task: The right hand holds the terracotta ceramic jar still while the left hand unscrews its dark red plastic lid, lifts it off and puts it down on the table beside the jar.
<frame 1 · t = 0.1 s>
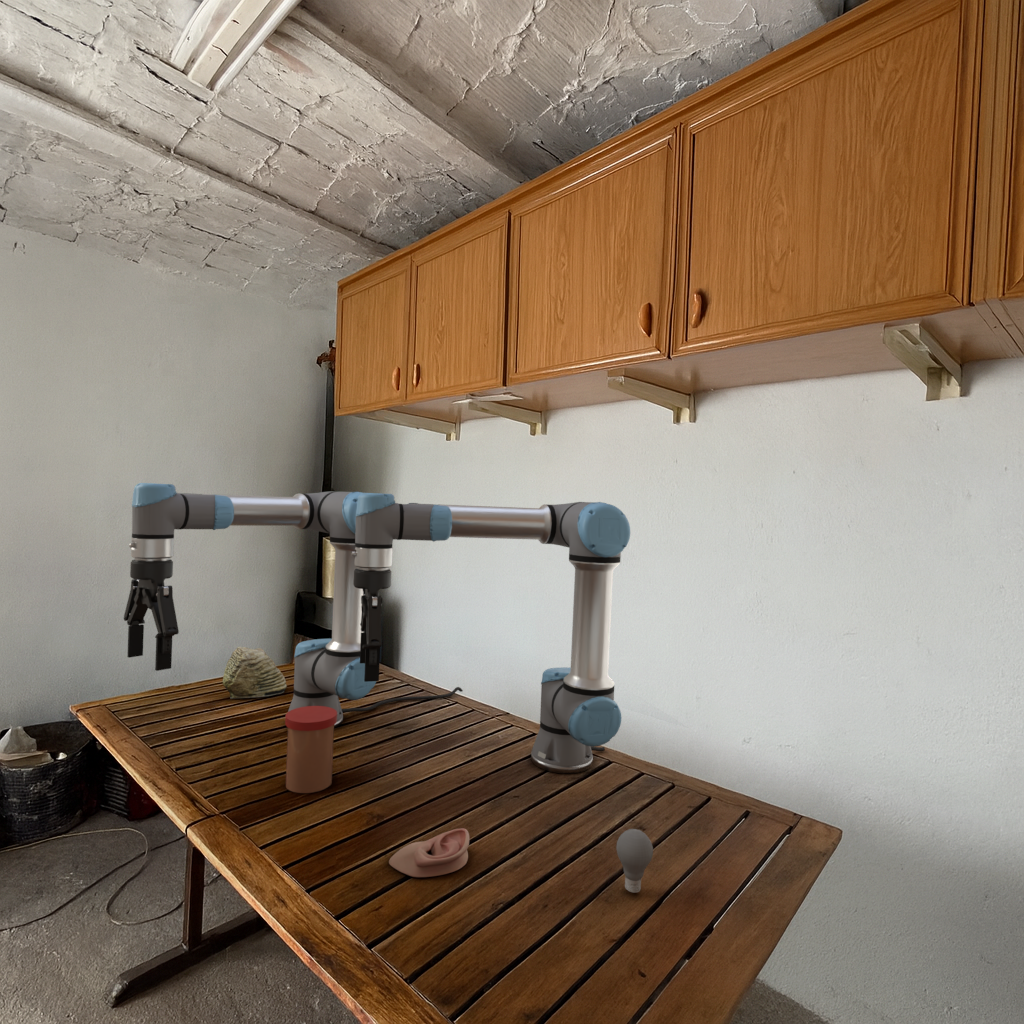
left hand: (148, 662, 129), 28 cm above the table, tool pointing down, fingers open, 13 cm apart
right hand: (368, 671, 130), 28 cm above the table, tool pointing down, fingers open, 13 cm apart
lid: (311, 715, 140), point 15 cm above the table, screwed on, not yet turned
jar: (309, 783, 140), on the table
fossil: (254, 694, 198), on the table
anatomical model: (429, 860, 112), on the table
light bulb: (632, 891, 106), on the table
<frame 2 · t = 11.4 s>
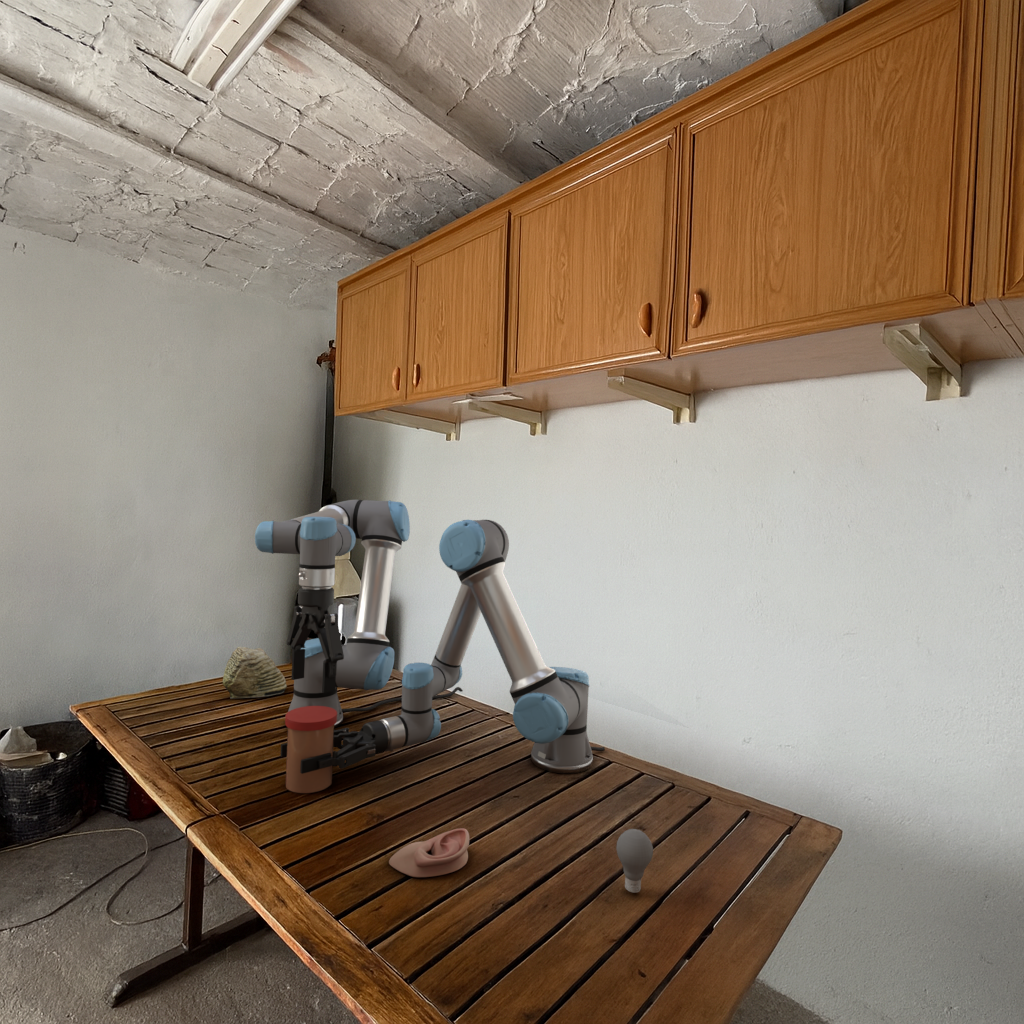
left hand: (312, 684, 139), 22 cm above the table, tool pointing down, fingers open, 12 cm apart
right hand: (291, 758, 137), 6 cm above the table, tool horizontal, fingers closed on jar, 10 cm apart
jar: (309, 783, 140), on the table, touching right hand
everything else where it was.
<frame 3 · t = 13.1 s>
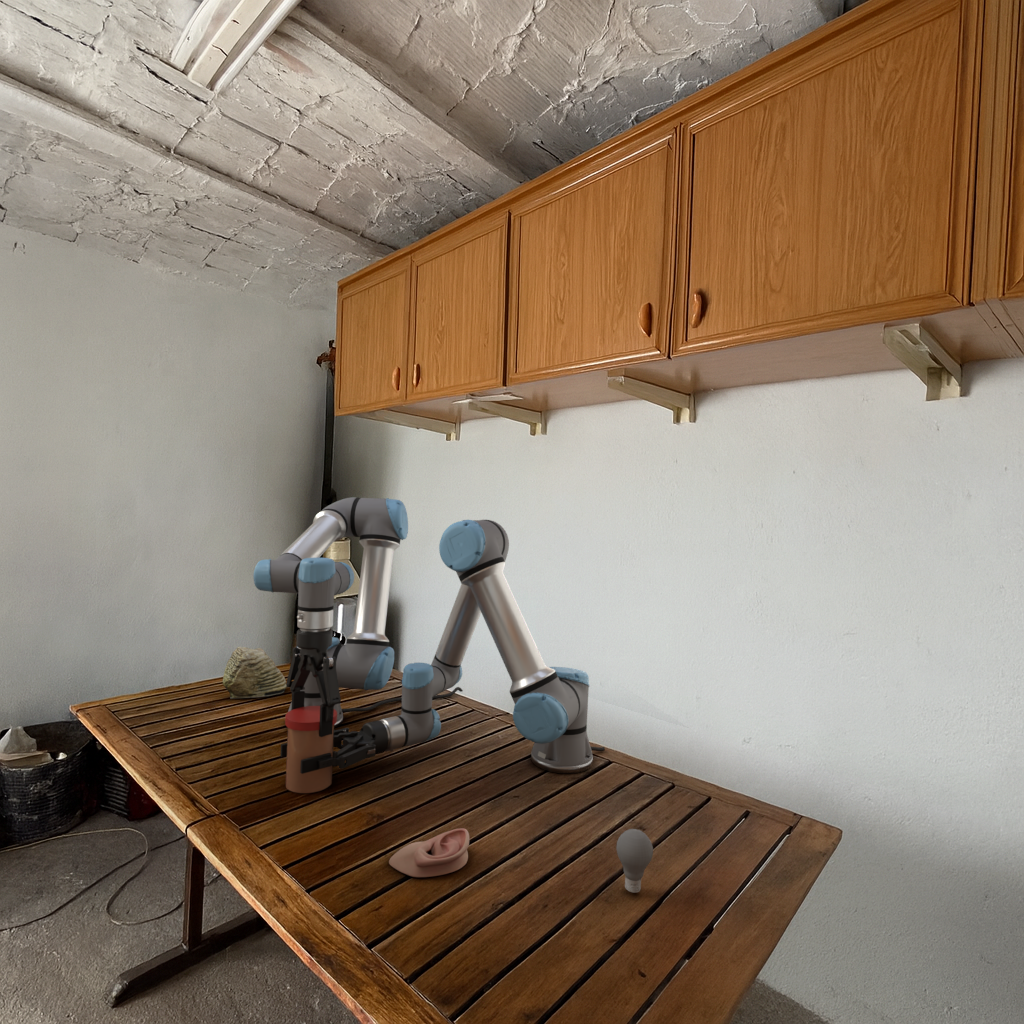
left hand: (311, 727, 140), 12 cm above the table, tool pointing down, fingers closed on lid, 11 cm apart
right hand: (291, 758, 137), 6 cm above the table, tool horizontal, fingers closed on jar, 10 cm apart
lid: (311, 715, 140), point 15 cm above the table, screwed on, not yet turned, touching left hand
jar: (309, 783, 140), on the table, touching right hand
everything else where it was.
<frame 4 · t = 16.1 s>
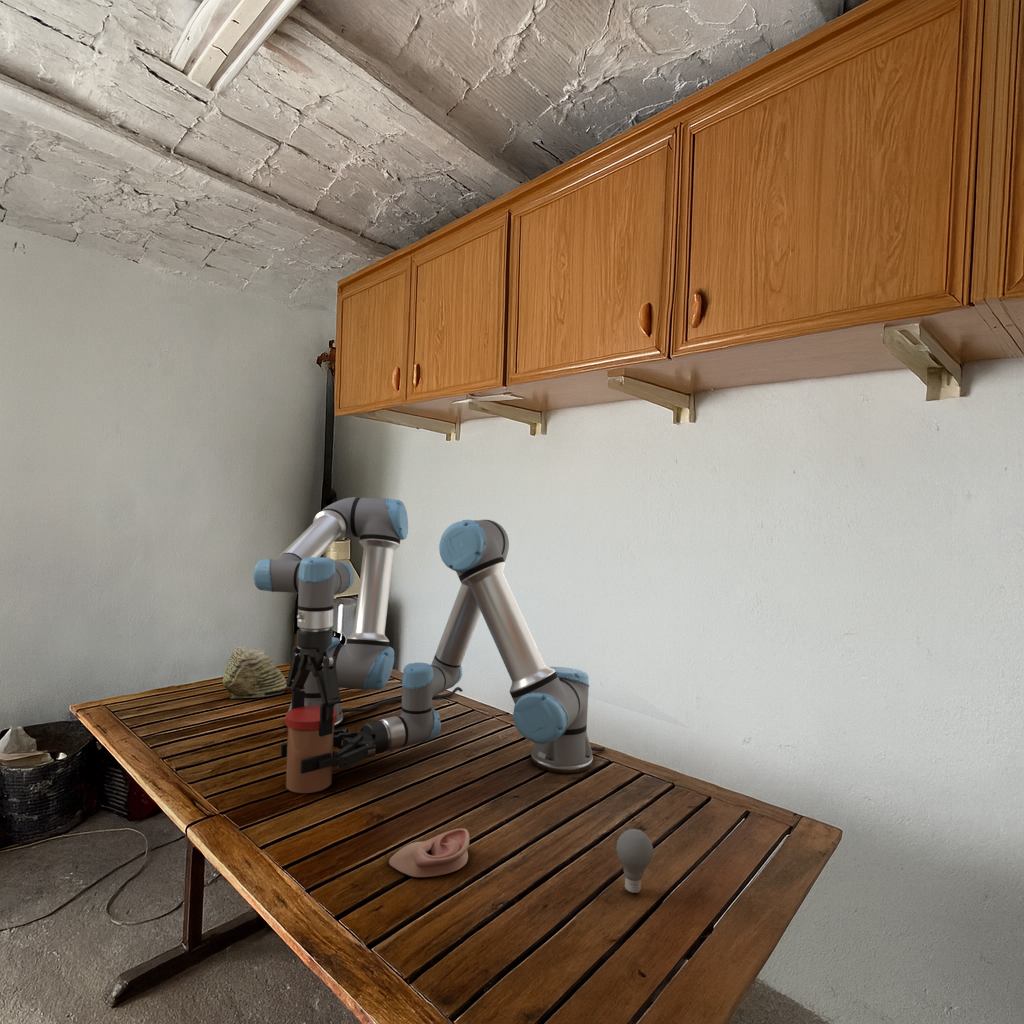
left hand: (311, 727, 140), 12 cm above the table, tool pointing down, fingers closed on lid, 11 cm apart
right hand: (291, 758, 137), 6 cm above the table, tool horizontal, fingers closed on jar, 10 cm apart
lid: (311, 714, 140), point 15 cm above the table, turned 80° so far, risen 0.1 cm, still on its thread, touching left hand
jar: (309, 783, 140), on the table, touching right hand
everything else where it was.
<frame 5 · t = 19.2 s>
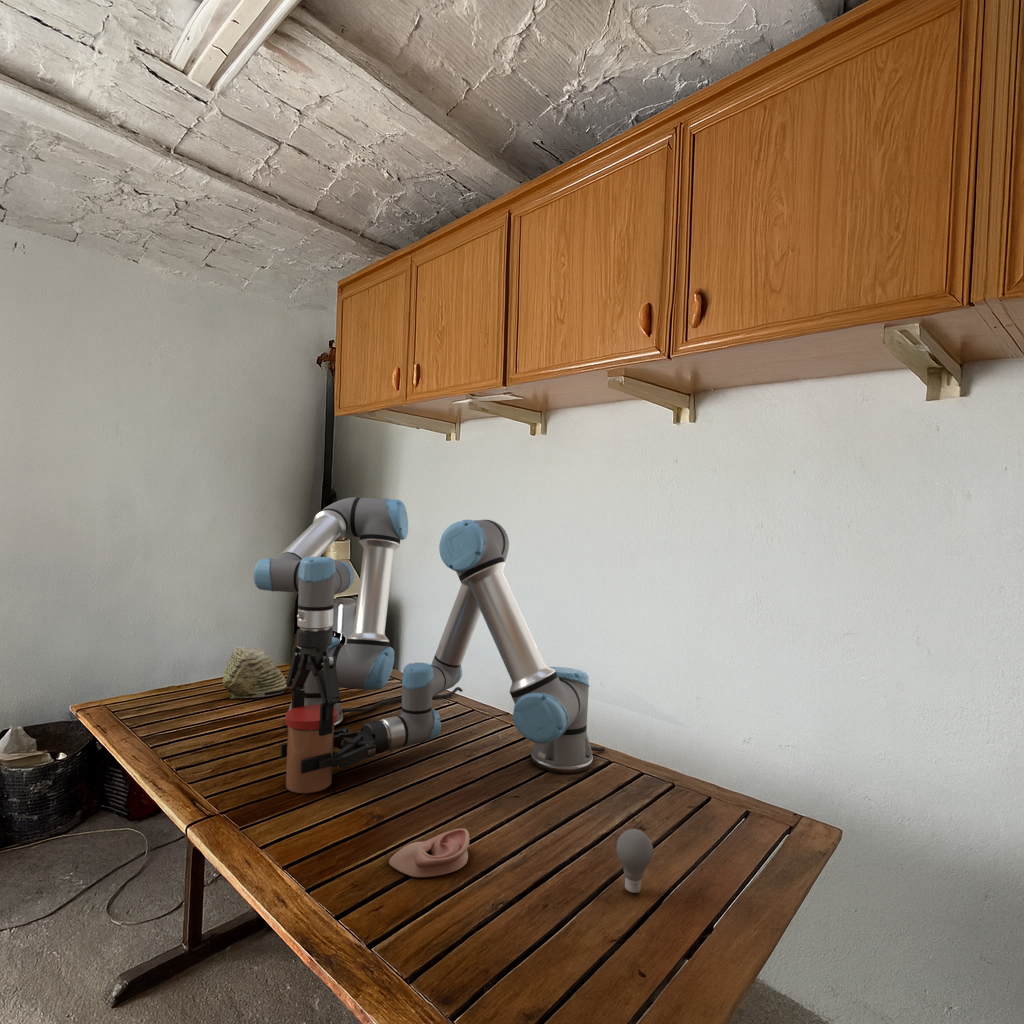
left hand: (311, 726, 140), 12 cm above the table, tool pointing down, fingers closed on lid, 11 cm apart
right hand: (291, 758, 137), 6 cm above the table, tool horizontal, fingers closed on jar, 10 cm apart
lid: (311, 714, 140), point 15 cm above the table, turned 159° so far, risen 0.2 cm, still on its thread, touching left hand
jar: (309, 783, 140), on the table, touching right hand
everything else where it was.
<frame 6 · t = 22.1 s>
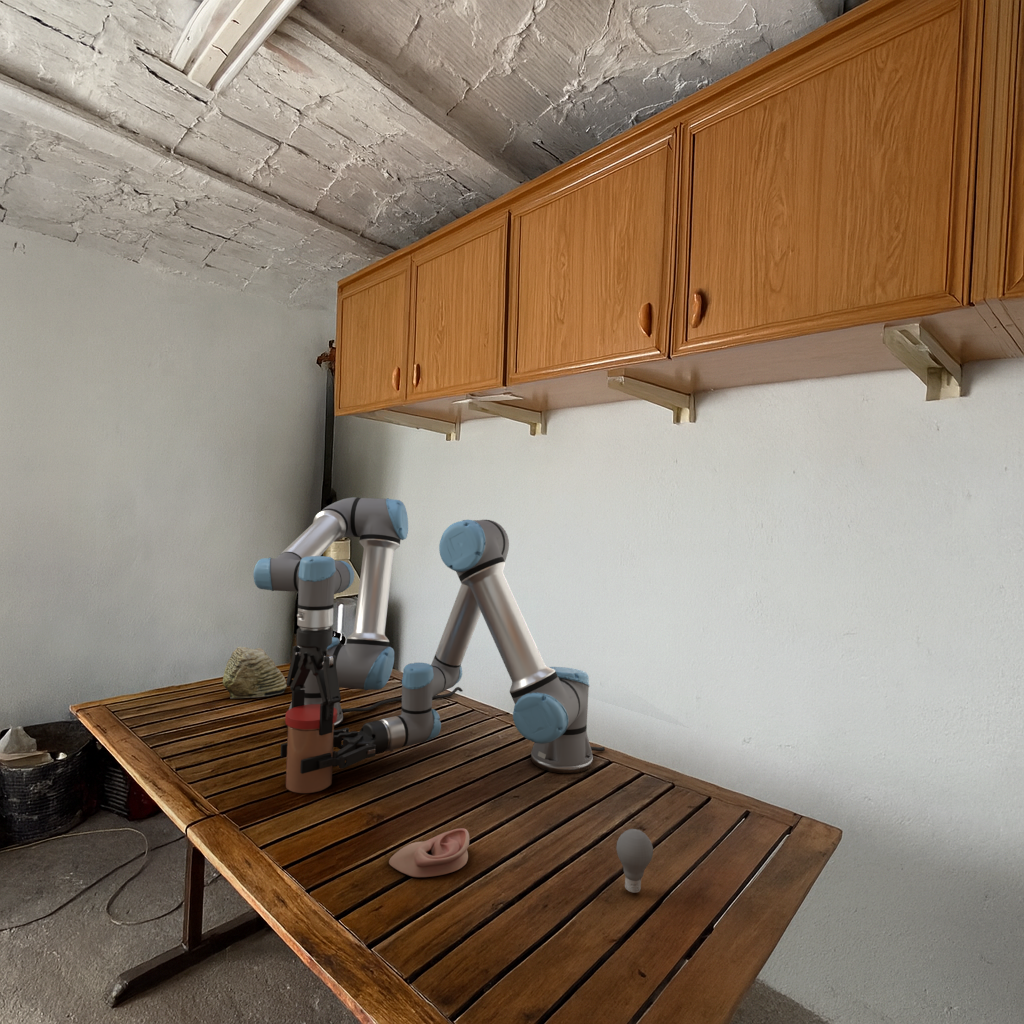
left hand: (311, 726, 140), 13 cm above the table, tool pointing down, fingers closed on lid, 11 cm apart
right hand: (291, 758, 137), 6 cm above the table, tool horizontal, fingers closed on jar, 10 cm apart
lid: (311, 713, 140), point 15 cm above the table, turned 239° so far, risen 0.4 cm, still on its thread, touching left hand
jar: (309, 783, 140), on the table, touching right hand
everything else where it was.
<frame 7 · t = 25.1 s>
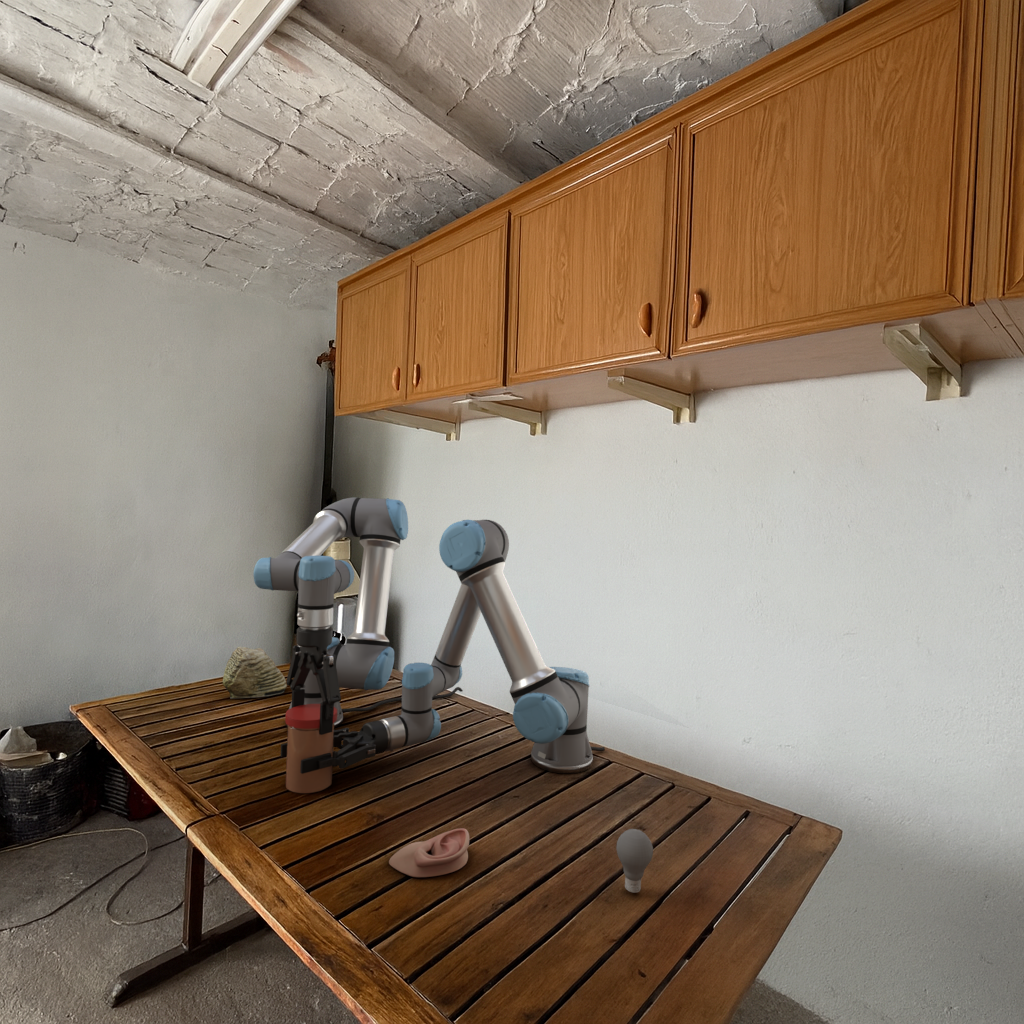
left hand: (311, 725, 140), 13 cm above the table, tool pointing down, fingers closed on lid, 11 cm apart
right hand: (291, 758, 137), 6 cm above the table, tool horizontal, fingers closed on jar, 10 cm apart
lid: (311, 713, 140), point 16 cm above the table, turned 318° so far, risen 0.5 cm, still on its thread, touching left hand
jar: (309, 783, 140), on the table, touching right hand
everything else where it was.
when the left hand's fingers open (0 cm above the table, at t = 32.6 s): lid drops 2 cm, point 1 cm above the table.
when the right hand's fingers open (7 cm above the table, at t = 33.7 s): jar stays where it is, on the table.
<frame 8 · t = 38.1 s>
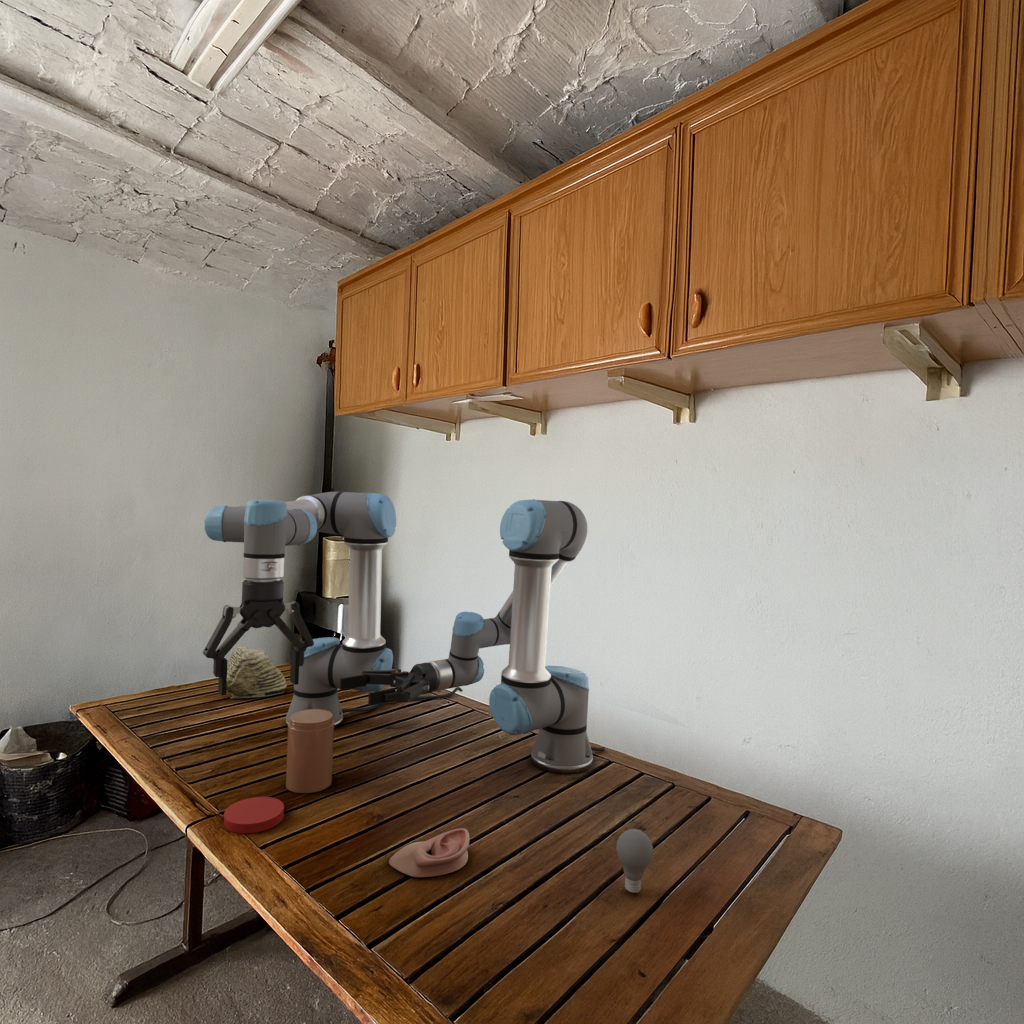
left hand: (259, 688, 123), 26 cm above the table, tool pointing down, fingers open, 13 cm apart
right hand: (354, 691, 146), 19 cm above the table, tool horizontal, fingers open, 13 cm apart
lid: (254, 811, 124), point 1 cm above the table, off its thread
jar: (309, 783, 140), on the table
everything else where it was.
at the end: lid came off its thread; lid point 1.4 cm above the table; the left hand is holding nothing; the right hand is holding nothing; jar tilted 0°; jar moved 0.0 cm from its start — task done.
